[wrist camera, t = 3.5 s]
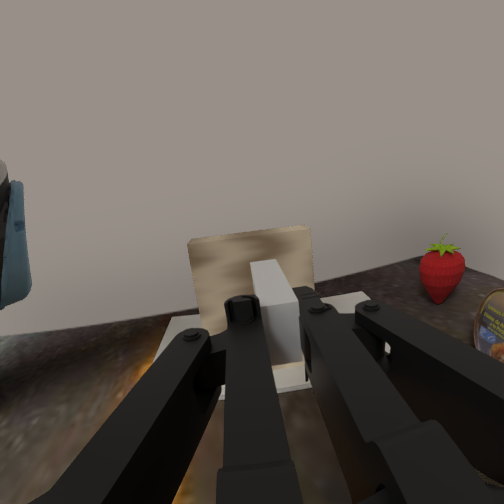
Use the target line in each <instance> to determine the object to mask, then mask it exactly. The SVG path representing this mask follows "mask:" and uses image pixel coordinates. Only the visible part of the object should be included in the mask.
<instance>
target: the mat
mask: <svg viewBox="0 0 504 504" xmlns="http://www.w3.org/2000/svg"><path fill="white" fill-rule="evenodd" d="M320 299H321V301H322V302H323V303H328V304H331V305H333V306H334V307H335V308H336V310H337V311H338V312H339V313H355V306H356V304H358V303H360V302H362V301H366V300H371V299H370V298H369V297H368V296H367V295H366V294H365V293H363V292H362V291H360V292H355V293H349V294H344V295H338V296H332V297H326V298H320ZM189 328H203V327H202V322H201V318H200V314H198V315H188V316H178V317H172V318H171V321H170V323H169V325H168V328H167V330H166V332H165V335H164V337H163V339H162V342H161V344H160V346H159V349H158V351H157V354H156V356H155V359H154V361H155V360H156V359H157V358H158V357H159V355H160V354H161V353H162V352H163V350H164V349H165V348H166V347H167V346H168V344H169V343H170V342H171V341H172V340H173V338H174V337H175V336H176V335H177V334H178V333H180V332H182V331H184V330H185V329H189ZM385 351H386V352H388V353H390V346H389V344H388V343H386V344H385ZM154 361H153V363H154ZM153 363H152V364H153ZM273 375H274V380H275V385H276V390H277V393H283V392H289V391H295V390H301V389H307V388H312V385H311V383H310V380H309V378H308V381H307V382H306V381H305V365H301V366H295V367H289V368H282V369H276V370H273ZM221 387H222V391H221V394H220V397H219V399H218V400H224V399H225V385H222V386H221Z"/></svg>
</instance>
